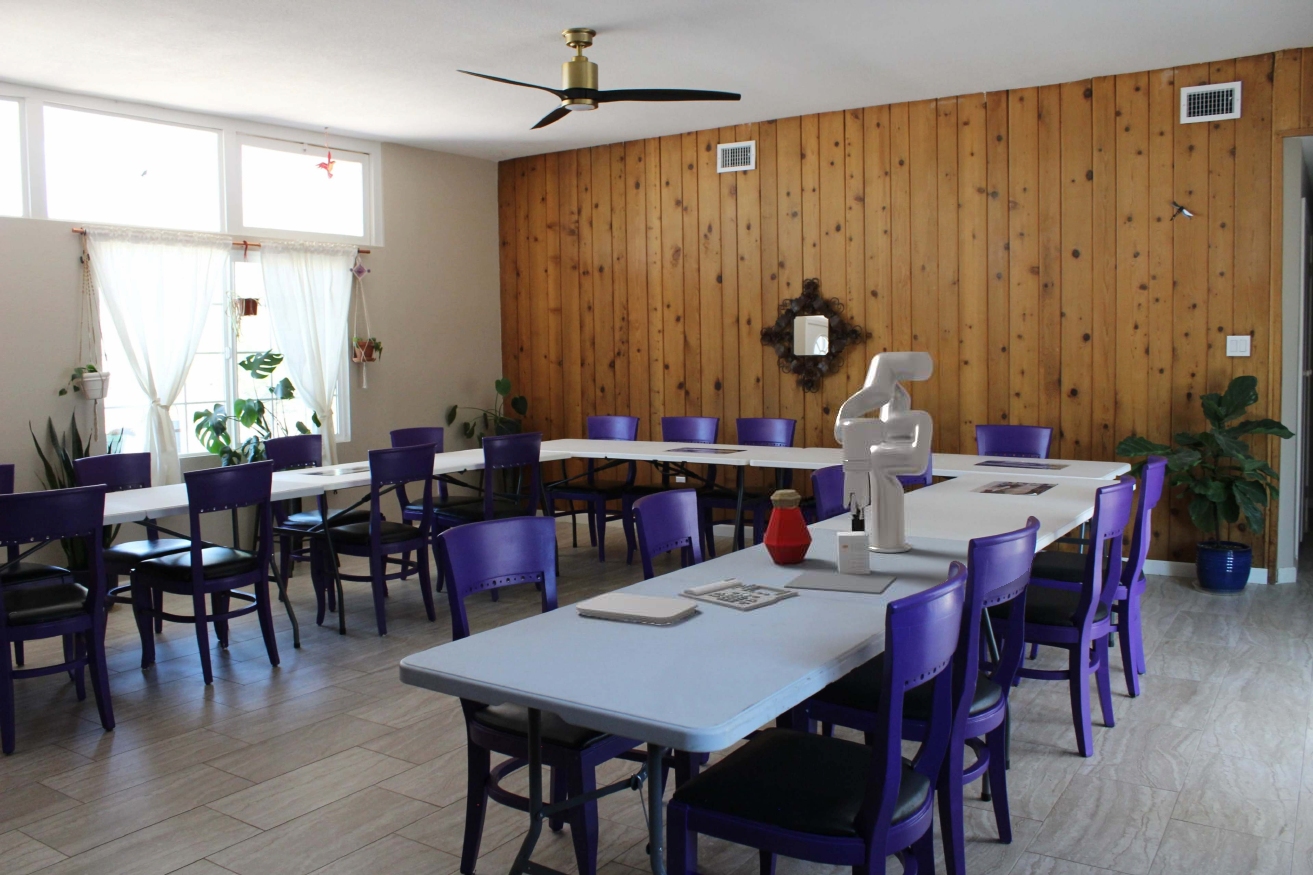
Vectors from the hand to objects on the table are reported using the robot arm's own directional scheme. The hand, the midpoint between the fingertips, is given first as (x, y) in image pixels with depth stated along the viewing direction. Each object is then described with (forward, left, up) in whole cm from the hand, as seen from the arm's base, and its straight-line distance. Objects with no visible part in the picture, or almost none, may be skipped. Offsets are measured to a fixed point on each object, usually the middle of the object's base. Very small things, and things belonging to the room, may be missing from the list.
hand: (858, 533), depth 265 cm
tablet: (+61, -37, -10) cm, 72 cm away
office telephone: (+39, -20, -10) cm, 45 cm away
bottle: (-3, -21, -10) cm, 23 cm away
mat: (+19, 0, -9) cm, 21 cm away
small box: (+6, 0, -10) cm, 11 cm away
